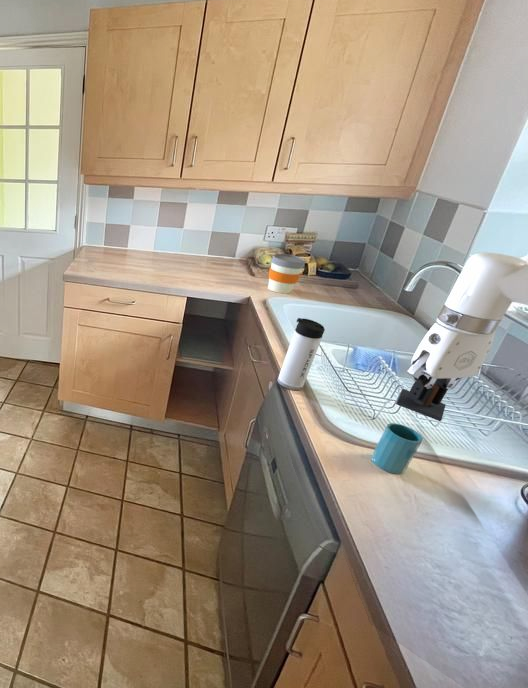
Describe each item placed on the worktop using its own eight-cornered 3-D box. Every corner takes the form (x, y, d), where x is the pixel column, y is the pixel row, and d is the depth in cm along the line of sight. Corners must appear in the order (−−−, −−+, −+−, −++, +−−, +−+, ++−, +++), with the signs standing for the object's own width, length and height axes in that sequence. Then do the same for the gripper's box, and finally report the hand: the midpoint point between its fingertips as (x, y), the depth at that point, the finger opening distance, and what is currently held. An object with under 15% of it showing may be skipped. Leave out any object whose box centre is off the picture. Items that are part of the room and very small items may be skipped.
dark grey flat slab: (401, 391, 89) (411, 371, 87) (444, 407, 84) (456, 386, 82) (395, 404, 85) (406, 383, 82) (440, 421, 80) (453, 399, 78)
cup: (399, 459, 93) (416, 428, 89) (408, 478, 88) (427, 445, 84) (367, 451, 95) (383, 420, 91) (375, 468, 90) (392, 436, 87)
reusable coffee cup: (269, 282, 195) (279, 251, 188) (299, 290, 186) (310, 259, 180) (258, 288, 187) (268, 256, 181) (289, 297, 178) (300, 264, 172)
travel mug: (277, 375, 123) (298, 314, 114) (303, 383, 119) (326, 321, 111) (274, 384, 118) (296, 322, 110) (301, 393, 115) (326, 330, 106)
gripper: (450, 330, 72) (404, 414, 80) (529, 329, 74) (477, 411, 81) (408, 311, 79) (370, 390, 86) (482, 310, 80) (438, 388, 88)
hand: (423, 400), depth 84 cm, fingers closed on dark grey flat slab, 2 cm apart
